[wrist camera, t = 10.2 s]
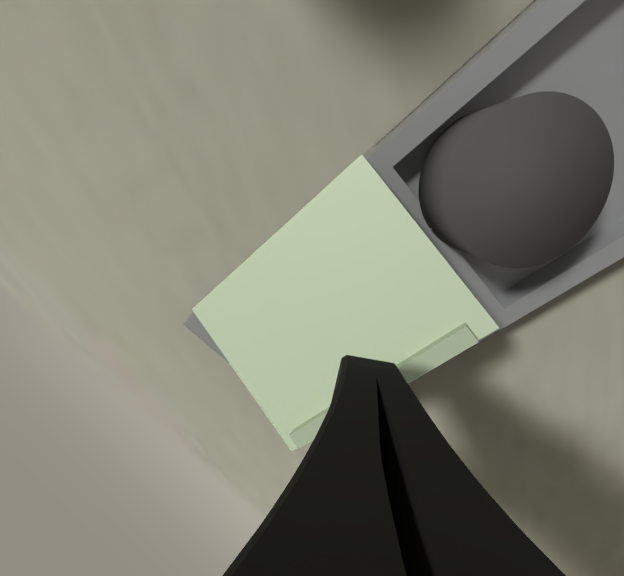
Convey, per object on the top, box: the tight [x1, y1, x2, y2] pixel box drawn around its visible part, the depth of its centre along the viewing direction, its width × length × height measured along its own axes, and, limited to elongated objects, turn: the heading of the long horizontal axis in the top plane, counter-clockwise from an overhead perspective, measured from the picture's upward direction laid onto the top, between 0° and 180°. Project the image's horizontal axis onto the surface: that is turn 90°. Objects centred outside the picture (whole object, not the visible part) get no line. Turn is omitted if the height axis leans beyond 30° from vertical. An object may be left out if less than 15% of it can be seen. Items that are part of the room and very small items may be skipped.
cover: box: [192, 155, 499, 451], centre depth 13 cm, size 7×9×1 cm
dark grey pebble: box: [419, 91, 614, 268], centre depth 12 cm, size 5×5×2 cm
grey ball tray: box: [184, 0, 624, 384], centre depth 14 cm, size 9×20×2 cm, turn 133°
